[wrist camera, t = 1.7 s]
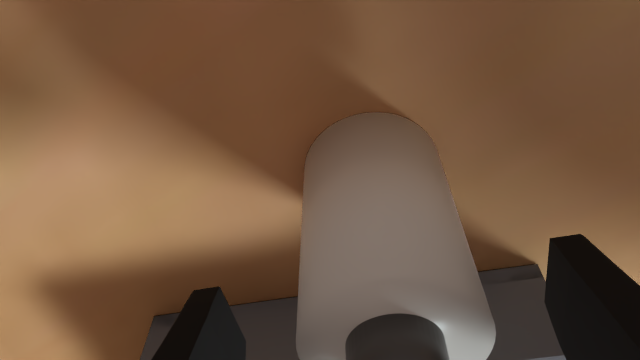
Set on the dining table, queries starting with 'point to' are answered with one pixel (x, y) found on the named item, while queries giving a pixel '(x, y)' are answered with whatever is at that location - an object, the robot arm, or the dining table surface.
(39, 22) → the dining table surface
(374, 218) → the bottle
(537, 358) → the walled box
